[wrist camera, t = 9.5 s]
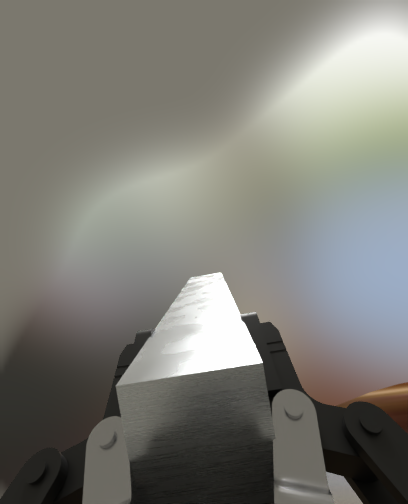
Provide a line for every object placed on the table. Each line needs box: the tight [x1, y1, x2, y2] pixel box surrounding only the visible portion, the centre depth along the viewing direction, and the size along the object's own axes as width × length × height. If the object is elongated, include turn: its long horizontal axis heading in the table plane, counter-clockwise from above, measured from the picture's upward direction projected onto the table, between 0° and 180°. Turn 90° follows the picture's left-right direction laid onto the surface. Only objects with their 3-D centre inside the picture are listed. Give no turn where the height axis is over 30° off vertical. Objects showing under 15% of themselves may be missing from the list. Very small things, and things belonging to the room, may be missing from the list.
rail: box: [116, 273, 276, 504], centre depth 20 cm, size 26×4×4 cm, turn 179°
